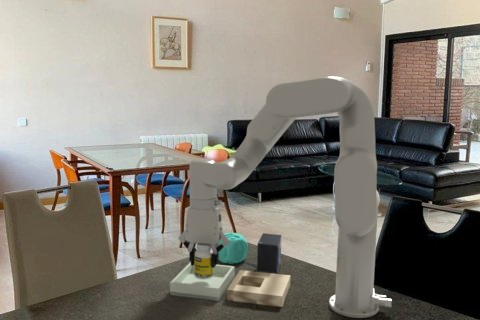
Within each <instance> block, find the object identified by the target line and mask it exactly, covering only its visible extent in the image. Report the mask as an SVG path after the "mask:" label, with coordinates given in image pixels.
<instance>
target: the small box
mask: <svg viewBox="0 0 480 320" xmlns="http://www.w3.org/2000/svg"><path fill="white" fill-rule="evenodd" d="M256 250H257V253H256V256H257V257H256V272H263V273H272V274H279V271H280V268H281V264H282V263H281V262H282V235H281V234H274V233H265V232H263V233H262V234H261V236H260V238H259V240H258V242H257V249H256Z"/></svg>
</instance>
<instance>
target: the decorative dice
mask: <svg viewBox="0 0 480 320" xmlns="http://www.w3.org/2000/svg"><path fill="white" fill-rule="evenodd" d="M224 234H225V235H226V237H227V238H228V239H229V240H230V242H229V244H227V245H226V246H225V247H224V248H222V249H221V250H220V251H219V262H220V263H223V264H227V263H228V265H229V264H230V265H234V264H235V263H236V264H239V263H242V262H243V261H244V259H246V257H247V255H248V252H249V246H248V244H249V243H248V242H247V239H246V238H245V237H244V235H242V234H241V233H238V232H226V233H224ZM221 243H223V241H222V240H219V243H218V244H219V245H220V244H221Z"/></svg>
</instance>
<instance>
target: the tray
mask: <svg viewBox="0 0 480 320" xmlns="http://www.w3.org/2000/svg"><path fill="white" fill-rule="evenodd" d="M235 268H236V267H235V266H233V265H224V264H217V265H216V266H215V267H214V268H213V276H212V277H211V278H210V279H198V278H196V277H195V276H194V265H193V266H192V265H191V261H189V262H188V264H186V266H185V267H183V269H182V270H181V271H179V273H178V274H177V275H176V276H175V277H174V278H173V279H172V280H171V281H170V282H169V295H170V296H175V297H177V296H178V297H185V298H192V299H201V300H208V301H209V300H211V301H218V302H219V301H220V300H221V299H222V297H223V295H224V294H225V292H227V289H228V287H229V286H230V284H231V283H232V281H233V280H234V279H235V277H236V276H235V275H236V272H235Z"/></svg>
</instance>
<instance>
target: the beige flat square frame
mask: <svg viewBox="0 0 480 320" xmlns="http://www.w3.org/2000/svg"><path fill="white" fill-rule="evenodd" d="M290 287H291V275H290V274H279V273H278V274H272V273H263V272H257V271H254V270H253V271H252V270H244V269H240V270H239V271H238V273H237V274H236V276H235V278H234V279H233V281H232V282H231V284H230V285H229V287H228V288H227V290H226V301H231V302H239V303H246V304H248V303H249V304H254V305H262V306H269V307H270V306H271V307H279V308H280V307H281V308H282V307H283V306H284V304H285V301H286V299H287V295H288V294H289V293H288V292H289V290H290Z"/></svg>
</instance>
